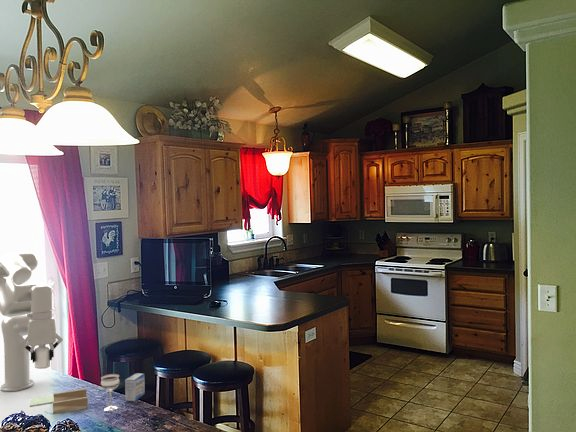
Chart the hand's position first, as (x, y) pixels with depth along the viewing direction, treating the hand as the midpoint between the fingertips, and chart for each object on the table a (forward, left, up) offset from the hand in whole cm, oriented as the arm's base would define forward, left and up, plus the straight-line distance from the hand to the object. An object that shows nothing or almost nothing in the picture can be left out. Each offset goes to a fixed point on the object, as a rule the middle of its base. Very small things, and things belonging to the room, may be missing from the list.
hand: (42, 360), depth 191 cm
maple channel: (+11, +10, -16) cm, 22 cm away
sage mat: (0, 0, -16) cm, 16 cm away
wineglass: (+21, +24, -17) cm, 36 cm away
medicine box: (+14, +34, -17) cm, 40 cm away
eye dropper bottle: (0, 0, -3) cm, 3 cm away
